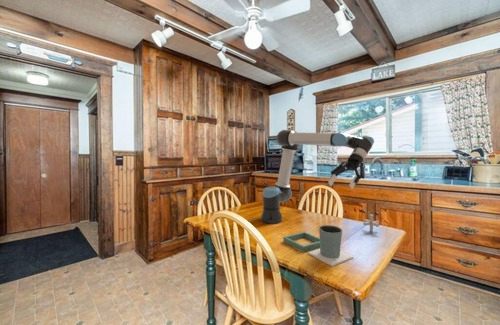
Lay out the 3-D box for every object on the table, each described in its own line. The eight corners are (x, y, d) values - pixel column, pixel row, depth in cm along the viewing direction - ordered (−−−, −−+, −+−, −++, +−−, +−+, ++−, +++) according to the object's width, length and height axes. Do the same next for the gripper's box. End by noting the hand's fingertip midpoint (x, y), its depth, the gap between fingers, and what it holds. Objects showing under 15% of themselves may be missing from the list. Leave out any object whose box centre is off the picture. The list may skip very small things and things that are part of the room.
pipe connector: (371, 235, 129) (371, 217, 129) (358, 229, 139) (358, 213, 139) (384, 233, 132) (385, 216, 132) (371, 227, 142) (371, 212, 141)
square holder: (283, 241, 122) (283, 237, 122) (304, 235, 129) (304, 231, 129) (303, 252, 108) (303, 247, 108) (325, 245, 116) (325, 240, 116)
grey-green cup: (323, 247, 111) (323, 223, 111) (345, 253, 105) (345, 227, 104) (315, 255, 103) (315, 229, 103) (338, 261, 97) (338, 234, 97)
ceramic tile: (308, 253, 107) (308, 252, 107) (328, 247, 114) (328, 245, 114) (332, 266, 95) (332, 264, 95) (353, 258, 102) (353, 256, 102)
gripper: (381, 162, 120) (364, 193, 113) (341, 161, 142) (325, 187, 135) (375, 152, 117) (357, 183, 111) (336, 153, 139) (318, 179, 132)
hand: (339, 185), depth 123 cm, fingers open, 13 cm apart
